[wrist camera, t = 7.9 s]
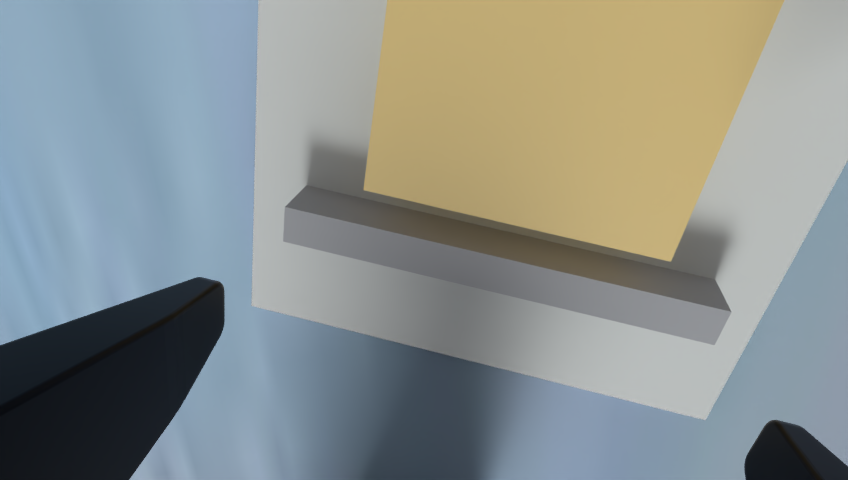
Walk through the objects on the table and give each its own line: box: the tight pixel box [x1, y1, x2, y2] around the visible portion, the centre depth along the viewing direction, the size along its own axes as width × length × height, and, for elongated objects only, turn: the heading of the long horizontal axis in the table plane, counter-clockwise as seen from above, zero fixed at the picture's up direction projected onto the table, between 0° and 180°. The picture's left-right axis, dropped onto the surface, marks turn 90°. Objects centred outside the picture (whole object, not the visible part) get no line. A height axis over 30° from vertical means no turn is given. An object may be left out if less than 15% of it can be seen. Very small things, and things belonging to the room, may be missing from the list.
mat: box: [252, 0, 848, 420], centre depth 14 cm, size 14×14×2 cm
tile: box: [363, 0, 784, 262], centre depth 12 cm, size 7×2×7 cm
